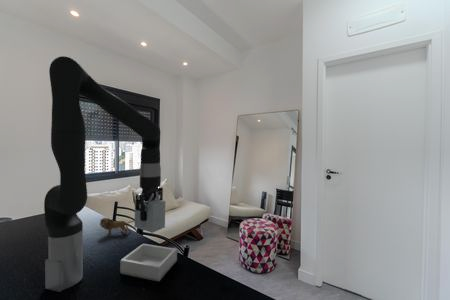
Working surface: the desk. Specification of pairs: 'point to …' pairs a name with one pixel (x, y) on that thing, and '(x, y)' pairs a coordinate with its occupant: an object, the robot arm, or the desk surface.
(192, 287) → the desk surface
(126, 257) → the tray
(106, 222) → the lion figurine
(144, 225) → the skincare box
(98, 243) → the desk surface
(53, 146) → the robot arm
